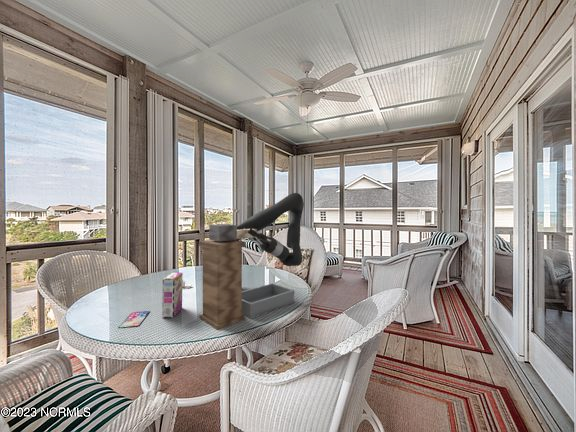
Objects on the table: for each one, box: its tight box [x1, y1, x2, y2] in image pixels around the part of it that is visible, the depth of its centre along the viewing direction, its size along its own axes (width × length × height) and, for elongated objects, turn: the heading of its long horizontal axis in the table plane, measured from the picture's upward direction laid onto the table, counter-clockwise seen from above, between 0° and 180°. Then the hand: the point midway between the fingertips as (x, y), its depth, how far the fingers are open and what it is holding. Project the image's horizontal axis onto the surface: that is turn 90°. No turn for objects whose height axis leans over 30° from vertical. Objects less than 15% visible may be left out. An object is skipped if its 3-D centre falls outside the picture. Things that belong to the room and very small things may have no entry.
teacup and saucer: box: [182, 279, 193, 290], centre depth 149 cm, size 9×8×4 cm
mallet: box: [208, 223, 257, 241], centre depth 111 cm, size 20×8×6 cm, turn 134°
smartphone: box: [118, 310, 151, 329], centre depth 107 cm, size 8×1×15 cm
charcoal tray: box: [242, 283, 295, 319], centre depth 123 cm, size 26×16×6 cm, turn 135°
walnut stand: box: [198, 239, 246, 330], centre depth 107 cm, size 13×14×32 cm
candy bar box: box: [161, 272, 183, 319], centre depth 113 cm, size 11×5×16 cm, turn 5°
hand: (246, 230), depth 115 cm, fingers closed on mallet, 3 cm apart
